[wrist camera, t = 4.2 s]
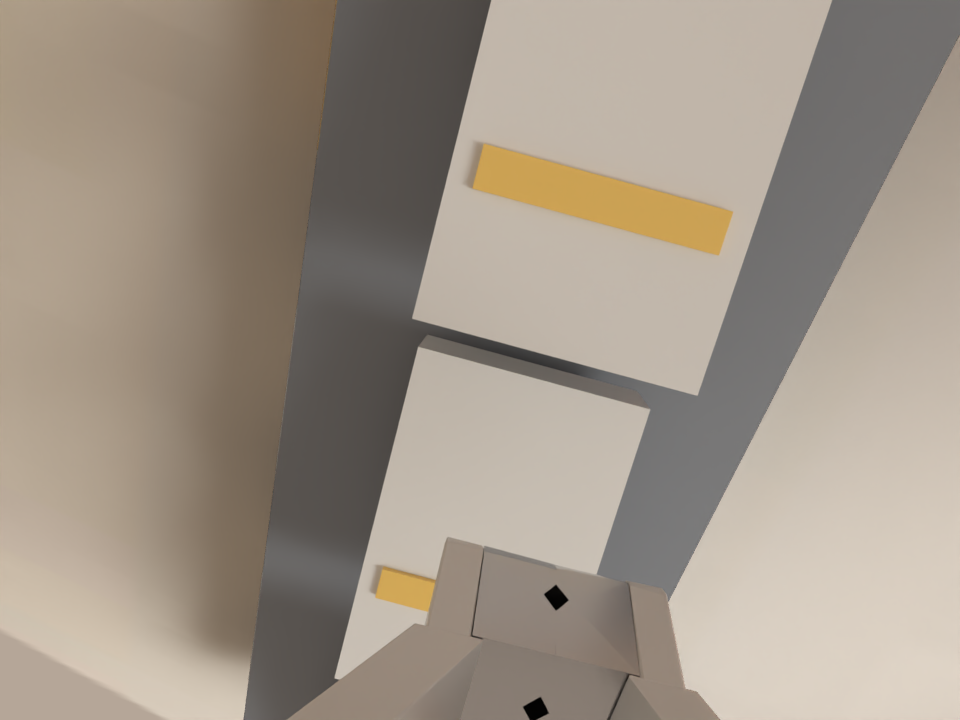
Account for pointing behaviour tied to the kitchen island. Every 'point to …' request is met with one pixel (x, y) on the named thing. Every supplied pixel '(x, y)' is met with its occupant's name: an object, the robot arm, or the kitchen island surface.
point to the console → (396, 336)
